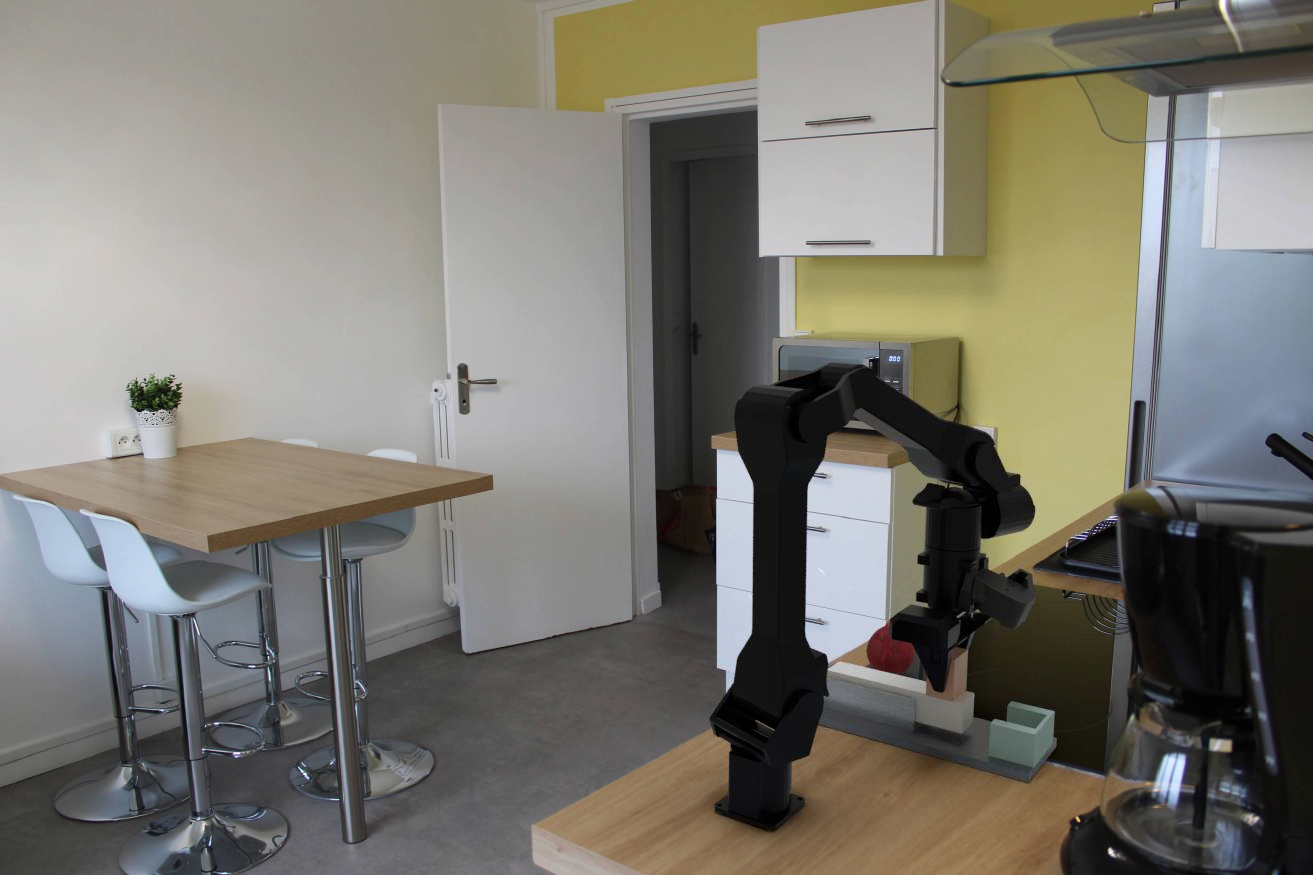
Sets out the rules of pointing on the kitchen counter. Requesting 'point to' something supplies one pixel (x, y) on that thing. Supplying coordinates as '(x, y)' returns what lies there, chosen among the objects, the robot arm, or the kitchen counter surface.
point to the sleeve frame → (914, 729)
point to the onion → (889, 652)
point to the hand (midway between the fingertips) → (946, 685)
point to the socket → (1022, 734)
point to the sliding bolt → (921, 691)
